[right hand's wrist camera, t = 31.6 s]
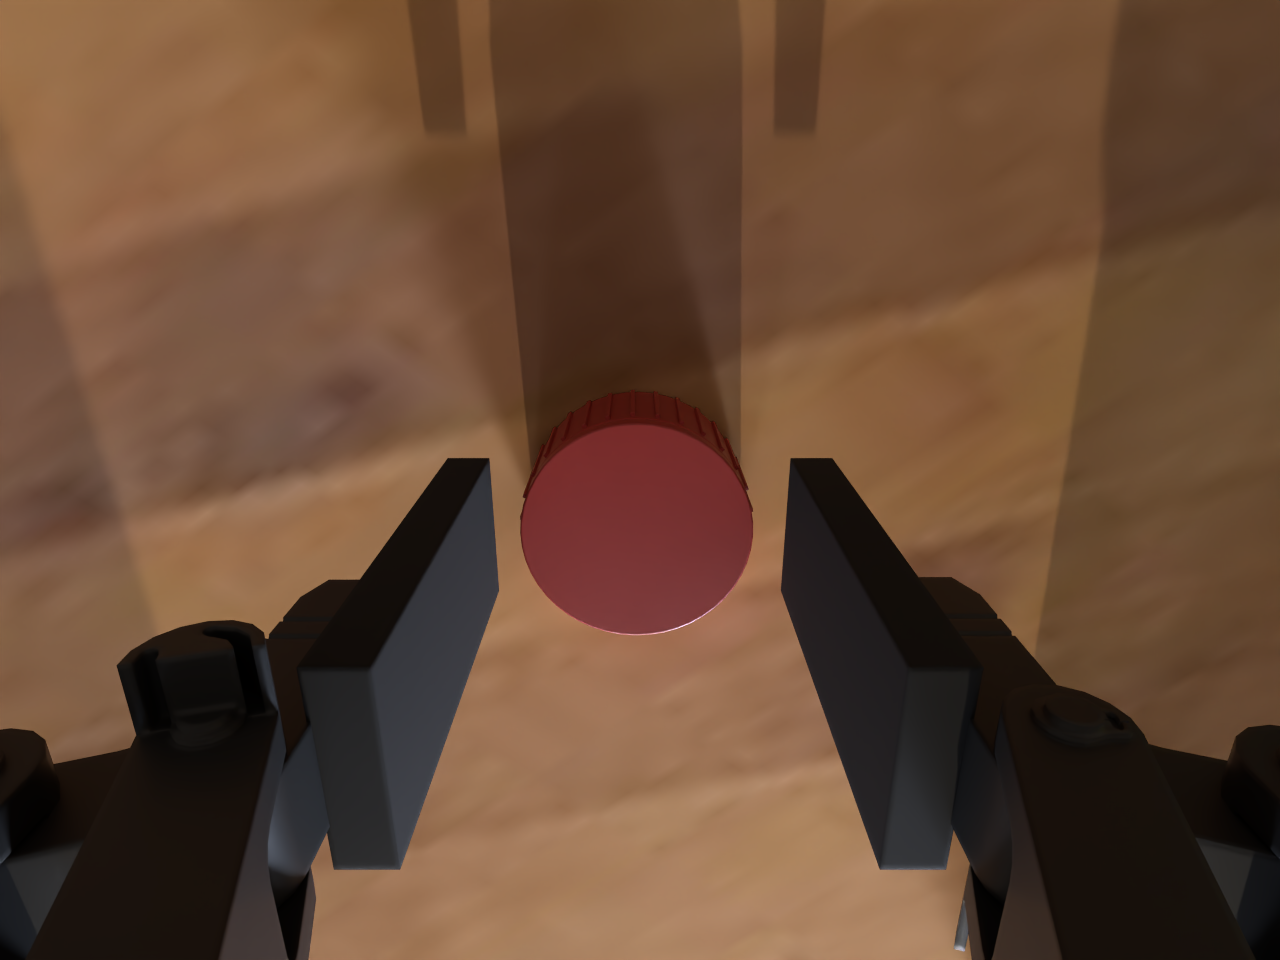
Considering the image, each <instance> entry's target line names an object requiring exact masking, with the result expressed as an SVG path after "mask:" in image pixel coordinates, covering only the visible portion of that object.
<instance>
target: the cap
mask: <svg viewBox="0 0 1280 960" xmlns="http://www.w3.org/2000/svg"><path fill="white" fill-rule="evenodd" d="M746 490H749V489H748V486H747V483H746V481H745V478H744V476H743V473H742V470H741V468H740V465H739V462H738V460H737V457H735V456H734V453H733V451H732V448H731V445H730V443H729V440H728V439H727V438H725V439H724V438H723V436H722V435H721V433H720V432H719V431H718V428H717V425H716V423H715V422H714V421H713V422H710V421H709V420H708V419H707V418H706V417H705V416H704V415H703V414H701V413H700V410H699V409H698V408H697V407H696V408H695V409H694V408H692V407H691V406H689V405H687V404H685V403H683V402H681V401H680V399H679V398H677V397H676V398H675V399H673V398H670V397H668V396H664V395H659V394H658V392H655V391H654V392H653V393H645V392H635V390H631V392H627V393H620V394H614V395H613V394H612V393H609V394H608V396H606V397H603V398H600V399H597V400H595V401H593V402H591V400H589V401H587V403H586V405H584V406H583V407H581V408H580V409H578V410H577V411H575V412H573V413H572V412H570V413H568V416H567V418H566V419H565V420H564V421H563V422H562V423H561V424H560V425H559V426H558V428H556V427H554V428H553V429H552V432H551V435H550V438H549V440H548V441H547V443H546V445H544V444H542V446H541V449H540V451H539V454H538V457H537V460H536V462H535V465H534V467H533V470H532V473H531V475H530V478H529V481H528V483H527V486H526V489H525V491H524V494H523V498H525V501H524V504H523V509H522V513H521V516H520V520H521V530H520V533H521V542H522V548H523V552H524V556H525V560H526V562H527V565H528V567H529V570H530V572H531V574H532V576H533V577H534V579H535V581H536V582H537V584H538V586H539V587H540V588H541V589H542V591H543V592H544V593H545V595H546V596H547V597H548V598H549V599H550V600H551V601H552V602H553V603H554V604H555V605H556V606H558V607H559V608H560V609H561V610H563V611H564V612H565V613H567V614H568V615H570V616H571V617H573V618H575V619H576V620H578V621H580V622H582V623H584V624H587V625H589V626H591V627H594V628H597V629H600V630H603V631H607V632H612V633H618V634H627V635H648V634H655V633H662V632H666V631H670V630H673V629H677V628H679V627H682V626H684V625H687V624H689V623H691V622H693V621H695V620H697V619H699V618H700V617H702V616H704V615H705V614H707V613H708V612H709V611H711V610H712V609H714V608H715V607H716V606H717V605H718V604H719V603H720V602H721V601H722V600H723V599H724V598H725V597H726V596H727V595H728V594H729V592H730V591H731V590H732V589H733V588H734V586H735V585H736V583H737V581H738V580H739V578H740V577H741V575H742V573H743V571H744V568H745V566H746V564H747V561H748V558H749V554H750V551H751V546H752V539H753V518H752V512H753V508H752V505H751V502H750V500H749V497H748V494H747V492H746Z"/></svg>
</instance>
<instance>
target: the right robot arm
mask: <svg viewBox="0 0 1280 960" xmlns="http://www.w3.org/2000/svg"><path fill="white" fill-rule="evenodd" d="M498 592H499V584H498V570H497V556H496V543H495V529H494V516H493V502H492V488H491V475H490V461H489V458H448V459H447V460H446V461H445V463H444V464H443V466H442V467H441V468H440V470H439V471H438V472H437V474H436V475H435V477H434V478H433V479H432V481H431V482H430V484H429V485H428V486H427V488H426V489H425V490H424V492H423V493H422V495H421V496H420V497H419V499H418V500H417V501H416V503H415V504H414V506H413V507H412V508H411V510H410V511H409V513H408V514H407V515H406V517H405V518H404V519H403V521H402V522H401V524H400V525H399V526H398V528H397V529H396V530H395V532H394V533H393V535H392V536H391V537H390V539H389V540H388V542H387V543H386V544H385V546H384V547H383V548H382V550H381V551H380V553H379V554H378V555H377V557H376V558H375V559H374V561H373V562H372V564H371V565H370V566H369V568H368V569H367V571H366V572H365V573H364V575H363V576H362V577H361V579H360V580H328V581H326V582H325V583H323V584H321V585H320V586H318V587H316V588H315V589H313V590H311V591H310V592H308V593H306V594H305V595H303V596H301V597H300V598H299V599H298V601H297V602H296V603H295V604H294V605H293V607H292V608H291V609H290V610H289V611H288V612H287V614H286V615H285V616H284V617H283V622H279V623H278V624H277V626H276V627H275V628H274V629H273V630H272V632H271V633H270V634H269V639H265V636H264V632H262V631H261V630H260V629H258V628H257V627H256V626H254V625H253V624H250V623H245V622H240V621H235V620H226V621H207V622H202V623H197V624H193V625H188V626H183V627H179V628H177V629H174V630H171V631H169V632H166V633H163V634H161V635H158V636H156V637H153V638H151V639H150V640H148V641H146V642H145V643H143V644H141V645H140V646H138V647H136V648H135V649H133V650H131V651H130V652H129V653H128V654H127V655H126V656H125V657H124V658H123V659H122V661H121V662H120V663H119V664H118V665H117V668H118V672H119V675H120V679H121V683H122V686H123V690H124V693H125V697H126V700H127V704H128V707H129V711H130V714H131V718H132V721H133V725H134V728H135V732H136V737H135V739H134V741H133V743H132V745H131V747H130V748H128V749H125V750H121V751H117V752H112V753H107V754H102V755H97V756H92V757H87V758H82V759H77V760H72V761H67V762H63V763H58V764H53V762H52V759H51V756H50V753H49V750H48V747H47V744H46V741H45V739H43V738H42V737H41V736H39V735H38V734H37V733H35V732H34V731H29V730H20V729H12V728H11V729H3V730H0V960H308V958H309V950H310V943H311V935H312V927H313V919H314V911H315V903H316V895H315V887H314V881H313V876H312V871H311V864H312V862H313V860H314V858H315V856H316V854H317V852H318V850H319V848H320V846H321V844H322V841H323V839H324V837H325V835H326V833H327V835H328V840H329V845H330V851H331V856H332V862H333V867H334V870H400V868H401V865H402V863H403V860H404V857H405V854H406V851H407V849H408V846H409V843H410V840H411V837H412V834H413V832H414V829H415V826H416V823H417V820H418V818H419V815H420V812H421V809H422V806H423V803H424V801H425V798H426V795H427V792H428V789H429V786H430V784H431V781H432V778H433V775H434V772H435V770H436V767H437V764H438V761H439V758H440V755H441V753H442V750H443V747H444V744H445V741H446V739H447V736H448V733H449V730H450V727H451V724H452V722H453V719H454V716H455V713H456V710H457V708H458V705H459V702H460V699H461V696H462V693H463V691H464V688H465V685H466V682H467V679H468V676H469V674H470V671H471V668H472V665H473V662H474V660H475V657H476V654H477V651H478V648H479V645H480V643H481V640H482V637H483V634H484V631H485V629H486V626H487V623H488V620H489V617H490V614H491V612H492V609H493V606H494V603H495V600H496V598H497V595H498ZM781 592H782V595H783V598H784V600H785V603H786V606H787V609H788V612H789V615H790V617H791V620H792V623H793V626H794V629H795V631H796V634H797V637H798V640H799V643H800V646H801V648H802V651H803V654H804V657H805V660H806V662H807V665H808V668H809V671H810V674H811V677H812V679H813V682H814V685H815V688H816V691H817V693H818V696H819V699H820V702H821V705H822V708H823V710H824V713H825V716H826V719H827V722H828V725H829V727H830V730H831V733H832V736H833V739H834V741H835V744H836V747H837V750H838V753H839V756H840V758H841V761H842V764H843V767H844V770H845V772H846V775H847V778H848V781H849V784H850V787H851V789H852V792H853V795H854V798H855V801H856V803H857V806H858V809H859V812H860V815H861V818H862V820H863V823H864V826H865V829H866V832H867V835H868V837H869V840H870V843H871V846H872V849H873V851H874V854H875V857H876V860H877V863H878V866H879V868H880V870H946V867H947V861H948V856H949V851H950V845H951V840H952V835H953V829H954V831H955V833H956V836H957V838H958V840H959V842H960V844H961V846H962V848H963V850H964V852H965V854H966V856H967V858H968V860H969V862H970V866H969V871H968V876H967V881H966V886H965V891H964V896H963V901H962V906H961V911H960V916H959V921H958V926H957V931H956V937H955V945H954V949H957V950H961V951H965V947H966V942H967V937H968V934H969V941H970V949H971V956H972V960H1280V726H1275V725H1265V726H1256V727H1248V728H1247V729H1245V730H1244V731H1243V732H1241V733H1240V734H1238V735H1237V736H1236V738H1235V741H1234V744H1233V747H1232V750H1231V753H1230V756H1229V759H1228V761H1225V760H1220V759H1215V758H1210V757H1205V756H1200V755H1195V754H1190V753H1185V752H1180V751H1175V750H1170V749H1165V748H1161V747H1157V746H1154V745H1150V744H1148V742H1147V740H1146V738H1145V736H1144V734H1143V733H1142V731H1141V730H1140V729H1139V728H1138V727H1137V725H1136V724H1135V723H1134V722H1133V720H1132V719H1131V718H1130V717H1129V716H1127V715H1126V714H1124V713H1123V712H1121V711H1120V710H1119V709H1117V708H1116V707H1114V706H1113V705H1111V704H1110V703H1108V702H1106V701H1103V700H1101V699H1099V698H1097V697H1094V696H1092V695H1090V694H1088V693H1085V692H1082V691H1078V690H1074V689H1070V688H1066V687H1062V686H1058V685H1056V684H1055V682H1054V681H1053V680H1052V679H1051V678H1050V677H1049V675H1048V674H1047V673H1046V672H1045V671H1044V670H1043V668H1042V667H1041V666H1040V665H1039V664H1038V662H1037V661H1036V660H1035V659H1034V658H1033V657H1032V655H1031V654H1030V653H1029V652H1028V651H1027V649H1026V648H1025V647H1024V646H1023V645H1022V644H1021V642H1020V641H1019V640H1018V639H1017V638H1016V636H1012V634H1011V631H1010V629H1009V628H1008V627H1007V626H1006V625H1005V623H1004V622H1003V621H1002V620H1001V619H997V614H996V613H995V612H994V610H993V609H992V608H991V607H990V606H989V605H988V603H987V602H986V601H985V600H984V599H983V597H982V596H981V595H980V594H978V593H977V592H975V591H973V590H972V589H970V588H968V587H967V586H965V585H963V584H962V583H960V582H958V581H957V580H955V579H953V578H952V577H918V576H917V575H916V573H915V572H914V571H913V569H912V568H911V566H910V565H909V564H908V562H907V561H906V559H905V558H904V557H903V555H902V554H901V553H900V551H899V550H898V548H897V547H896V546H895V544H894V543H893V542H892V540H891V539H890V537H889V536H888V535H887V533H886V532H885V530H884V529H883V528H882V526H881V525H880V524H879V522H878V521H877V519H876V518H875V517H874V515H873V514H872V513H871V511H870V510H869V508H868V507H867V506H866V504H865V503H864V501H863V500H862V499H861V497H860V496H859V495H858V493H857V492H856V490H855V489H854V488H853V486H852V485H851V484H850V482H849V481H848V479H847V478H846V477H845V475H844V474H843V472H842V471H841V470H840V468H839V467H838V466H837V464H836V463H835V461H834V460H833V459H832V458H791V461H790V474H789V488H788V502H787V515H786V529H785V542H784V556H783V570H782V583H781Z"/></svg>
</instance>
